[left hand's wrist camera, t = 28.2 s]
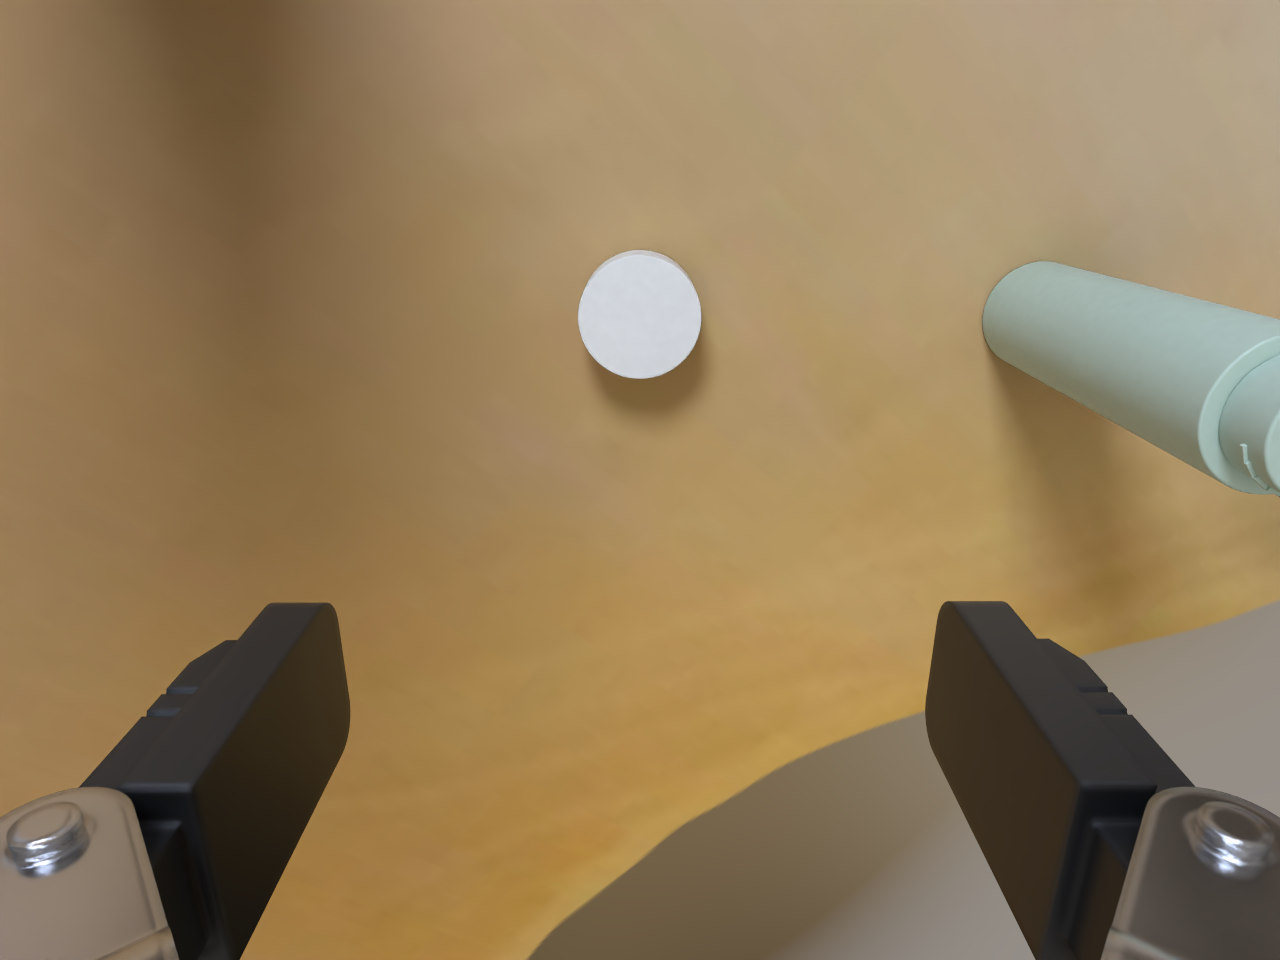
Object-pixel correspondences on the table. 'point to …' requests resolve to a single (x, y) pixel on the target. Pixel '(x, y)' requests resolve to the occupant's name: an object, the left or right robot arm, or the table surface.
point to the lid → (639, 314)
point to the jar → (1150, 365)
